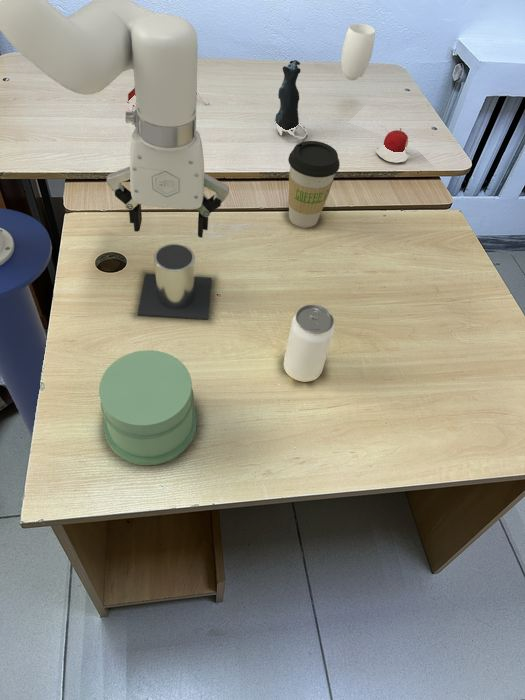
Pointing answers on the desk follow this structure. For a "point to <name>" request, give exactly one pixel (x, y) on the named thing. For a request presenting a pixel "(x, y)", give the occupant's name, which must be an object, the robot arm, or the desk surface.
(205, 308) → the mat
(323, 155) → the coffee cup
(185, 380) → the green short cylinder
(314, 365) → the can
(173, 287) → the silver cup
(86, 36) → the robot arm
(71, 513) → the desk surface
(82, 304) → the desk surface
